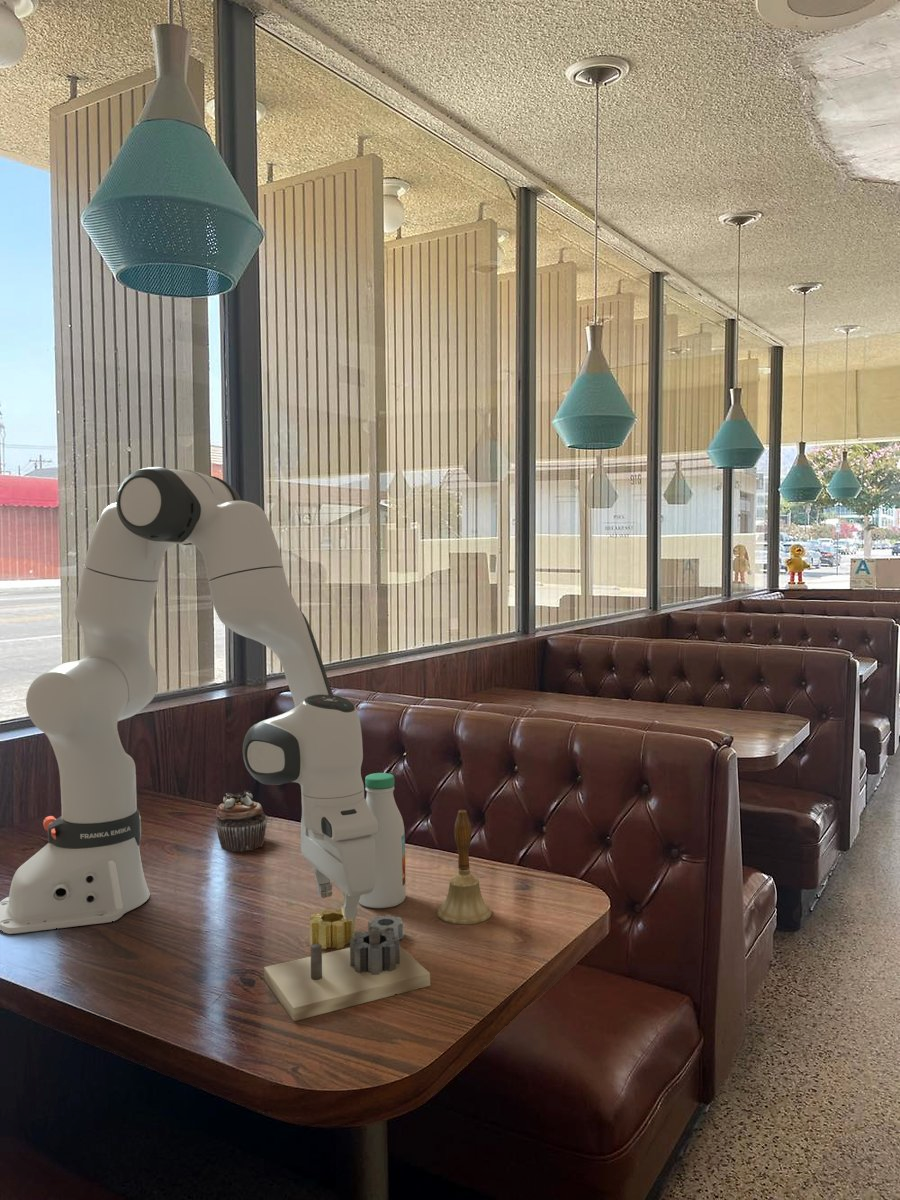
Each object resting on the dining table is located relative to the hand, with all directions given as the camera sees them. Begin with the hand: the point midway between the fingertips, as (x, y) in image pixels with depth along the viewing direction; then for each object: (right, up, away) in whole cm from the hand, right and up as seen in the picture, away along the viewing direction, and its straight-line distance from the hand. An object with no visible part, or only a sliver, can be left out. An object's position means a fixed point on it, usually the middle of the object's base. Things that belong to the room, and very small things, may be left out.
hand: (336, 906), depth 128 cm
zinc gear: (+7, -5, +1) cm, 8 cm away
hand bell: (+18, -4, +9) cm, 21 cm away
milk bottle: (+5, -4, +15) cm, 16 cm away
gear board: (+3, -5, -13) cm, 14 cm away
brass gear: (-1, -5, 0) cm, 5 cm away
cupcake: (-23, -3, +42) cm, 49 cm away
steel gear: (+6, -4, -11) cm, 13 cm away
